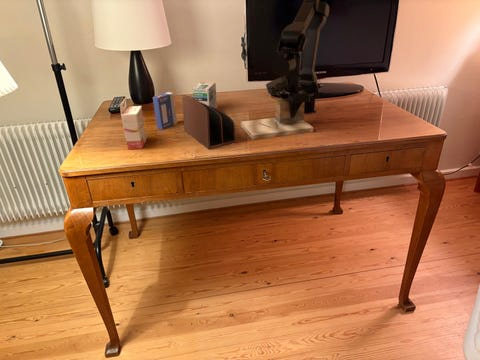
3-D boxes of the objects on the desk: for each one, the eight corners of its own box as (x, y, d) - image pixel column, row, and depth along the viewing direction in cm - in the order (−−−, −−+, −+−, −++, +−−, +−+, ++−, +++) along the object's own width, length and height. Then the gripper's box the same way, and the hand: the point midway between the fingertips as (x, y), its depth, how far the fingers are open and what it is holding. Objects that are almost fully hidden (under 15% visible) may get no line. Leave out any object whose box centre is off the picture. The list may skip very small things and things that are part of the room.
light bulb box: (210, 116, 137) (208, 88, 131) (194, 115, 138) (191, 88, 133) (217, 107, 146) (215, 82, 141) (202, 107, 147) (200, 81, 142)
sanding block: (298, 116, 126) (299, 97, 122) (303, 120, 122) (304, 100, 118) (275, 119, 124) (275, 99, 120) (279, 123, 120) (280, 103, 116)
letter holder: (208, 150, 108) (205, 107, 101) (184, 131, 123) (179, 92, 116) (236, 143, 113) (234, 101, 106) (209, 125, 128) (206, 87, 121)
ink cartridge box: (143, 149, 110) (135, 104, 103) (127, 150, 110) (118, 105, 103) (147, 138, 118) (140, 96, 110) (132, 139, 117) (124, 97, 110)
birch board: (296, 118, 131) (296, 114, 130) (312, 131, 119) (313, 127, 119) (241, 125, 126) (240, 121, 125) (252, 139, 114) (252, 135, 114)
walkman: (162, 129, 125) (157, 97, 119) (157, 128, 126) (152, 96, 120) (177, 123, 130) (174, 91, 124) (172, 122, 132) (168, 90, 126)
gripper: (259, 66, 120) (259, 110, 128) (279, 78, 105) (277, 127, 112) (289, 64, 123) (287, 106, 130) (312, 75, 107) (309, 123, 115)
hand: (289, 115), depth 122 cm, fingers closed on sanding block, 4 cm apart
